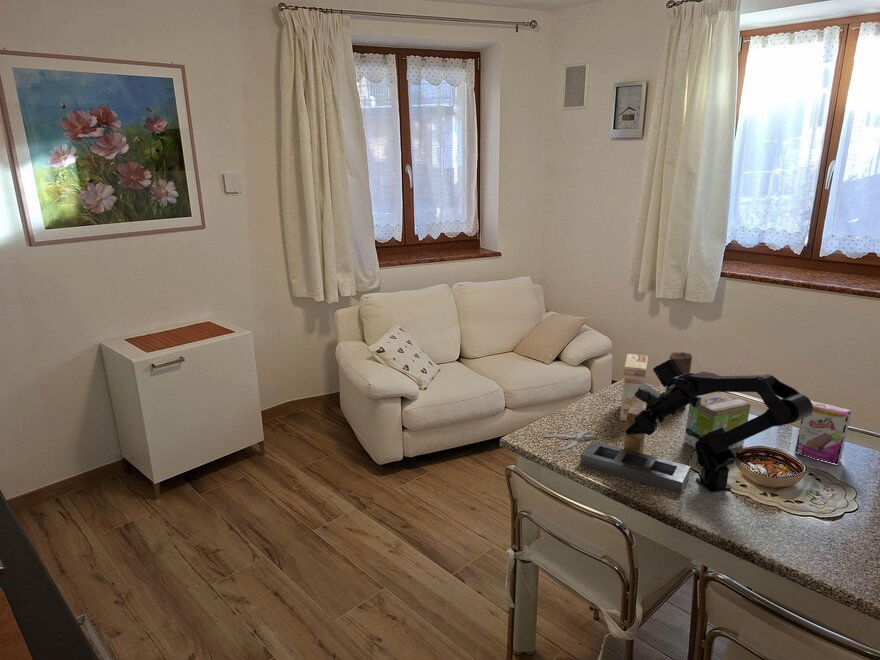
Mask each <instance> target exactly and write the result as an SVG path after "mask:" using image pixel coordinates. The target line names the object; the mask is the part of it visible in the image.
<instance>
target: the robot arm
mask: <svg viewBox="0 0 880 660" xmlns="http://www.w3.org/2000/svg"><path fill="white" fill-rule="evenodd" d="M652 371H653V373H654V374H655V376H656V377H657V379H658V380H659V382H660V384H661V385H662V387H663V388H665V389H666V387H667V386H668V388H672V387H674V386H676V387H675V388H673V389H672V390H670V391H669V392H667V393H666V391H663V392H662V393H660V392H659V391H657V389H655V388H653V387H652V386H650V385H649V384H647V383H646V382H645V383H643V384H642V385H641V386H640V387H639V389H638V390H637V392H636V393H635V397H637V398H638V399H640V400H641V401H643V403H645V404H646V407H645V409H642V411H641V412H639V413H638V414H637V415H636V416H635V418H634V419H635V422H634V423H633V424H632V425H631V426H630V427H629V428H628V429H627V430H626V429H625V430H624V434H625V433H626V434H627V435H628V434H645V435H648V436H650V435H652V434H653V433H655V432H656V431H657V429H658V425H659V424H658V422H657V420H658V421H659V423H662V422H664V420H666V418H668V417H669V416H674V415H676V413H677V412H678V411H680V410H681V409H683V407H685V406H686V407H687V406H688V405H690V403H691V404H692V406H693V407H698V406H700V404H701V399H702V398H701V396H704V395H709V394H713V393H714V394H715V393H757V394H758V395H759V396H760V398H761V399H762V401H763V403H764V405H765V407H767V409H766V410H765V412H764V413H762V414H759V416H756V417H754V418H751V419H750V420H748V422H745V423H743V424H741V425H739V426H737V427H735V428H733V429H731V430H729V431H726V432H724V429H723V427H721V428H719V429H716V430H713V431H711V432H709V433H707V434H705V435H703V436H700V437H698V439H700V440H698V441H697V442H696V443H695V448H694V449H695V452H696V456H697V460H698V461H697V462H698V466H700V467H701V470H700V477H696V478H695V481H696V482H698V483H699V484H700V485H701V486H703V487H704V489H706V490H708V491H709V492H712V493H713V492H715V493H716V492H719V491H727V490H732V486H731V485H730V484H728V478H729V472H730V468H729V467H728V466H730V465H733V464H735V462H736V461H737V456H735V453H734V452H733V450H732V448H733V447H734V446H735V444H737V443H738V442H740V441H743V440H744V441H745V440H747V439H749V438H751V437H753V436H756V435H758V434H760V433H762V432H765V431H766V430H769V429H772V428H773V427H774V428H775V427H782V426H784V425H785V426H786V425H789V424H792V423H795V422H798V421H800V420H801V419H803V418H805V417H808V416H809V415H811V414H812V410H813V405H812V403H811V401H812V400H811V399H810V398H809V397H807V396H806V395H804V394H802V393H800V392H799V391H798V390H797V389H796V388H794V387H792V386H791V385H790V386H789V385H788V384H786V383H784V382H782V381H780V380H779V379H778V378H776V377H775V376H774V375H771V374H770V373H765V374H763V375H762V374H758V375H752V374H751V375H719V374H716V373H714V372H707V371H702V372H697V373H694V372H690V373H687V374H684V375H683V374H682V372H681V371H680V369H679V368H678V366H677V364H676V362H675V360H674V359H670V358H669V359H667V360H665V361H664V362H662V363H660V364H658V365H656V366H655V367H653V368H652ZM781 398H782V399H781ZM810 400H811V401H810ZM686 407H685V408H686ZM645 410H647V411H645ZM733 449H734V448H733Z"/></svg>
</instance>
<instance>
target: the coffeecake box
mask: <svg viewBox="0 0 880 660" xmlns="http://www.w3.org/2000/svg"><path fill="white" fill-rule="evenodd" d="M648 360H649V359H648V355H644V354H635V353H627V354H626V359H625V363H624V373H623V382H622V383H623V385H622V394H621V395H622V396H621V404H620V405H621V407H620V415H619V420H620V421H624V422H626V420H627V412H628V411H629V410H630V409H631V407H633V408H638V409H642V410H644V408H643V407H644V402H643V401H641V400H640V399H638V398H637V397H635V393H636V392H637V390H638V389H639V387H640V386H641V385H642V384H643V383H645V384H646V383H647V381H646V379H647V372H648V371H647V369H648Z"/></svg>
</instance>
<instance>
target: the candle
mask: <svg viewBox="0 0 880 660" xmlns="http://www.w3.org/2000/svg"><path fill="white" fill-rule="evenodd" d="M669 359H674V360H675V362H676V364H677V366H678V368H679V369H680V371H681V372H682V374H683V375H684V374H687V373H691V370H692V369H691V367H692V359H693V355H692V354H691V353H690V352H676V351H675V352H671V353H670V355H669ZM675 387H676V386H674V387H672V388H668V386H667V387H665V392H666V393H667V392H669V391H670V390H672V389H673V388H675ZM686 407H687V405H686V406H685V407H683V408H686ZM683 408H682V409H683Z"/></svg>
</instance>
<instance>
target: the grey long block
mask: <svg viewBox="0 0 880 660" xmlns="http://www.w3.org/2000/svg"><path fill="white" fill-rule="evenodd" d="M579 457H580V458H579V460H580V461H579V466H581V465H582V467H585V466H586V468H588V469H592V470H596V471H599V472H603V473H607V474H610V475H614V476H616V477H621V478H624V479H627V480H630V481H634V482H636V483H641V484H645V485H648V486H651V487H655V488H659V489H662V490H665V491H669V492H672V493H676V494H679V495H681V494H682V493H683V491H684V489H685V487H686V485H687V482H688V481H689V479H690V472H691V465H687V464H683V463H679V462H675V461H672V460H667V459H663V458H661V457H660V458H659V457H656V456H652V455H648V454H644V453H642V454H641V453H637V452H634V451H630V450H626V449H624V448H622V447H618V446H614V445H610V444H606V443H603V442H598V441H595V440H592V441H591V442H590V443H589V444H588V445H587V446H586V448H584V450H583V451H582V452H581V453H580V456H579Z"/></svg>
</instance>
